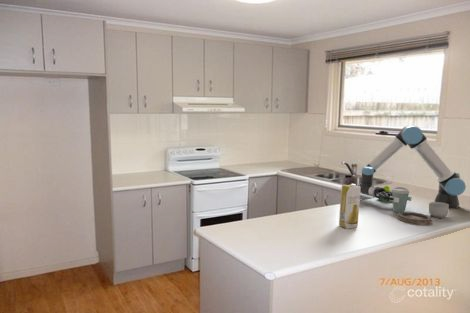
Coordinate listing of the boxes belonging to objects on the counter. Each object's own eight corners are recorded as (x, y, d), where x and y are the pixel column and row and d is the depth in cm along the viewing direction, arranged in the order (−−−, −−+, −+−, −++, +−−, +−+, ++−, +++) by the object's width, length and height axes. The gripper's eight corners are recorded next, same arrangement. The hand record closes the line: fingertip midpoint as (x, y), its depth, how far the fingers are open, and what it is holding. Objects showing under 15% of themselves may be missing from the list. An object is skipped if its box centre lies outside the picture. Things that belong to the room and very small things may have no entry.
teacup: (450, 219, 224) (451, 206, 222) (430, 218, 226) (432, 205, 225) (442, 213, 237) (443, 201, 236) (423, 212, 239) (425, 199, 238)
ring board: (411, 214, 233) (411, 210, 233) (439, 222, 216) (440, 218, 216) (389, 217, 225) (390, 213, 224) (417, 226, 208) (418, 222, 208)
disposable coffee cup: (406, 214, 231) (408, 191, 229) (387, 211, 237) (389, 188, 235) (408, 210, 240) (410, 188, 238) (390, 208, 246) (392, 185, 244)
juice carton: (346, 229, 198) (350, 185, 195) (336, 225, 205) (339, 182, 202) (359, 227, 202) (363, 184, 199) (349, 223, 209) (352, 181, 206)
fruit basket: (395, 200, 268) (396, 185, 266) (393, 203, 260) (394, 187, 259) (378, 198, 274) (379, 182, 272) (376, 200, 266) (377, 184, 265)
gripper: (388, 196, 259) (416, 203, 240) (364, 198, 249) (391, 207, 229) (389, 185, 258) (417, 192, 239) (365, 187, 248) (392, 195, 228)
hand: (405, 199), depth 234 cm, fingers closed on disposable coffee cup, 11 cm apart
